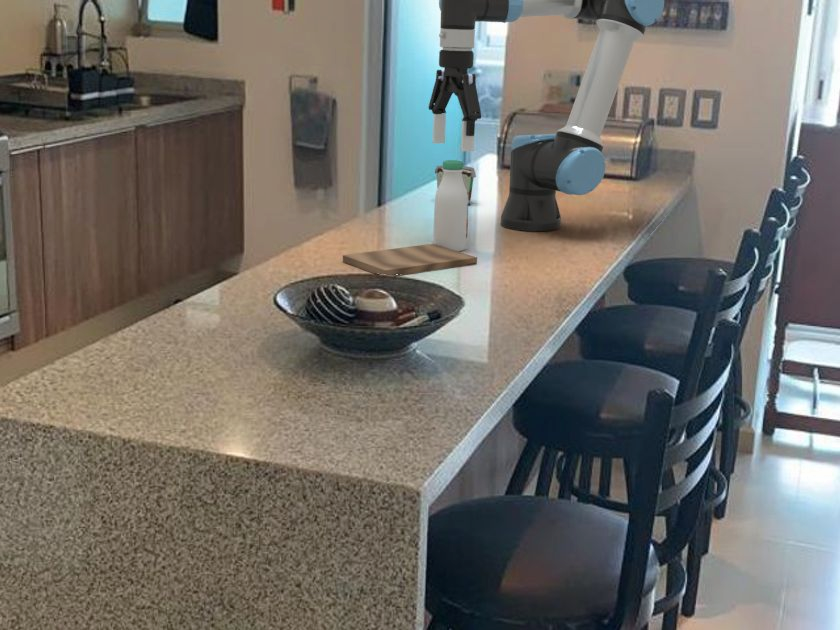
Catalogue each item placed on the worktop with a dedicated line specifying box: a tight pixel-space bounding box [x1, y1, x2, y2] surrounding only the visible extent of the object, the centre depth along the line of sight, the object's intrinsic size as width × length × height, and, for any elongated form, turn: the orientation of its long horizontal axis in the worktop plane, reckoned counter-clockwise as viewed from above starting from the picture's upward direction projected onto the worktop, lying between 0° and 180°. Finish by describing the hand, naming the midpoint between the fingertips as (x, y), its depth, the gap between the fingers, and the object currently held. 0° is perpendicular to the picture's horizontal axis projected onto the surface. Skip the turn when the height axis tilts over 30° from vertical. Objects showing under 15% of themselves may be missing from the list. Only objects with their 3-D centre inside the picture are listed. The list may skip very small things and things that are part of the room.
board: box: [342, 243, 478, 276], centre depth 250 cm, size 24×16×2 cm, turn 126°
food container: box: [434, 164, 477, 207], centre depth 321 cm, size 12×6×10 cm, turn 58°
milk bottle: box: [432, 159, 469, 252], centre depth 262 cm, size 8×8×20 cm
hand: (452, 147), depth 259 cm, fingers open, 13 cm apart
